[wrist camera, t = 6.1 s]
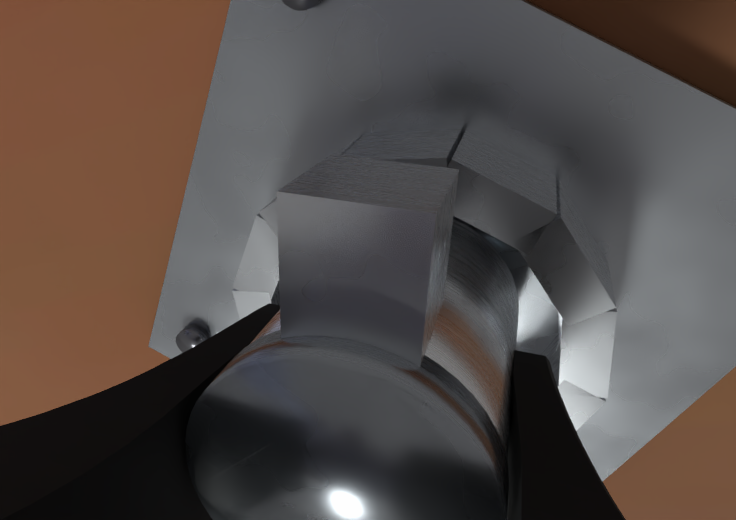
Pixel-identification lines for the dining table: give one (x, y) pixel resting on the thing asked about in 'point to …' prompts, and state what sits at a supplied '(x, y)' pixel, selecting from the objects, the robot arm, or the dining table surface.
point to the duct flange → (485, 186)
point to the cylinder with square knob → (367, 361)
